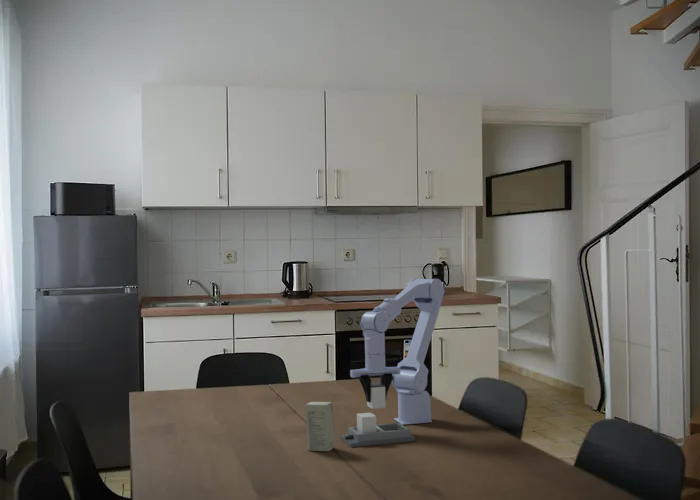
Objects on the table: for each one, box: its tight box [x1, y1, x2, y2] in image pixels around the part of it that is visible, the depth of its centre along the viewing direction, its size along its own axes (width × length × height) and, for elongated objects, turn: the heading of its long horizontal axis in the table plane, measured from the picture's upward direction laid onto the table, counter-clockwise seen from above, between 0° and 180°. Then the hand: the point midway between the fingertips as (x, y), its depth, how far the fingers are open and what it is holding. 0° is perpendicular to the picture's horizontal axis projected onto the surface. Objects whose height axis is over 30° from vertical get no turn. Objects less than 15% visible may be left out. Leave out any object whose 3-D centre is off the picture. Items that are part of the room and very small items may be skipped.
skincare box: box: [304, 401, 335, 452], centre depth 199 cm, size 6×4×12 cm
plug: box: [366, 381, 387, 410], centre depth 217 cm, size 4×5×6 cm
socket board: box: [340, 412, 416, 448], centre depth 207 cm, size 18×10×7 cm, turn 106°
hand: (376, 400), depth 217 cm, fingers closed on plug, 4 cm apart
